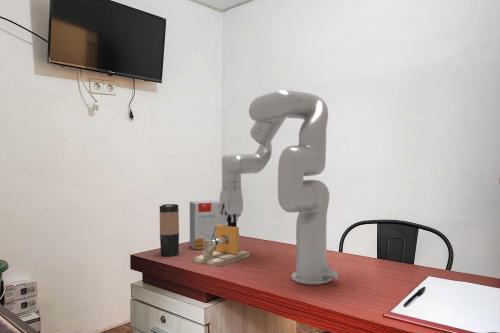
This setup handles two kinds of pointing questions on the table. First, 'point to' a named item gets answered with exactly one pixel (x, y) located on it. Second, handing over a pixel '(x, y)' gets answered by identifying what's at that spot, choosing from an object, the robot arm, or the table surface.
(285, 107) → the robot arm
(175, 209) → the travel mug
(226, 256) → the pipe stand
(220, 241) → the pipe
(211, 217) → the hard drive box
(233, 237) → the collar
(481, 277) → the table surface
